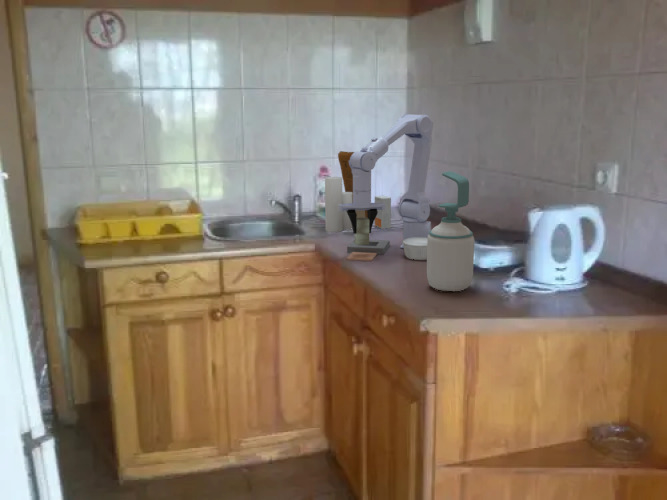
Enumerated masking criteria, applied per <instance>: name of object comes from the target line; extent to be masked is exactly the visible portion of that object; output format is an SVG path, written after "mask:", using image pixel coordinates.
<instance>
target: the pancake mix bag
mask: <svg viewBox="0 0 667 500" xmlns="http://www.w3.org/2000/svg"><path fill="white" fill-rule="evenodd" d="M354 152H355V151H339V152H338V153H337V158H338V162H339V163H338V164H339V166H340V171H341V177H342V183H343V188H344V192H352V194H353V174H352V169H351V167H350V166H349V161H350V157H351V155H352V154H353V153H354ZM352 203H353V198H352ZM365 217H367V210H365ZM367 218H368V217H367Z"/></svg>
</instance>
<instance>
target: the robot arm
mask: <svg viewBox="0 0 667 500" xmlns="http://www.w3.org/2000/svg"><path fill="white" fill-rule="evenodd" d="M433 128H434V121H433V120H432V119H431V117H430V116H429V115H427V114H409V113H404V114H403V115H401V116H400V117H399V118H397V120H396V123H395V124H394V125H393V126H392V127H390V129H388V130H387V132H385V134H384V135H382V137H379V136H377V137H373V138H371V141H370V142H369V143H368V144H366V145H365V146H363V147H361V150H360V151H358V150H357V151H353V152H354V153H353V154H352V155H351V157H350V161H349V166H350V167H351V169H352V174H353V203H351V204H340V205H339V211H340V212H341V211H347V214H348V216H349V218H350V221H351V224H352V232H353V234H354V235H355V234H356V231H357V229H356V218H357V214H356V212H355V211H357V210H367V217H368V219H369V234H372V229H373V224H374V223H375V218H376V216H377V213H378V211H377V210H385V204H384V203H375V202H372V170H373V169H374V168H375V166H376V163H377V162H378V160H379V159H380V158H382V157H383V156H384V155H385V154H387V153H388V151H389V146H390V145H392V144H393V143H395V142H396V141H398V140H399V139H400V138H401V137H403V136H404V135H405V136H406V137H408V138H409V139H410V140H411V141H412V143H413V145H414V146H413V156H412V159H411V160H412V161H411V169H410V175H409V182H408V190H407V191H406V192H405V193H404V194H403V195H402V196H401V201H400V203H399V205H398V207H397V208H398V210H397V211H398V214H399V216H400V217H401V220H402V223H403V225H402V244H401V245H400V246H399V247H400V249H404V245H403V241H404V240H405V239H408V238H415V237H420V238H428V235H429V231H431V230H432V222H431V221H429V220H428V218H429V216H430V212H431V207H430V198H429V197H428V195H426V194H425V190H426V186H427V185H426V183H427V177H428V170H429V163H430V158H431V157H430V155H431V149H432V148H431V147H432V143H433V137H432V135H433ZM357 208H361V209H357ZM427 220H428V221H427Z"/></svg>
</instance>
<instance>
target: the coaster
mask: <svg viewBox="0 0 667 500" xmlns="http://www.w3.org/2000/svg"><path fill="white" fill-rule="evenodd" d="M377 255H378V254H377V253H364V252H352V253H349V255H348V256H347V257H346V260H347V261H349V260H350V261H363V262H364V261H366V262H372V261H373V260H374V259H375V258H376V256H377Z"/></svg>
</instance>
